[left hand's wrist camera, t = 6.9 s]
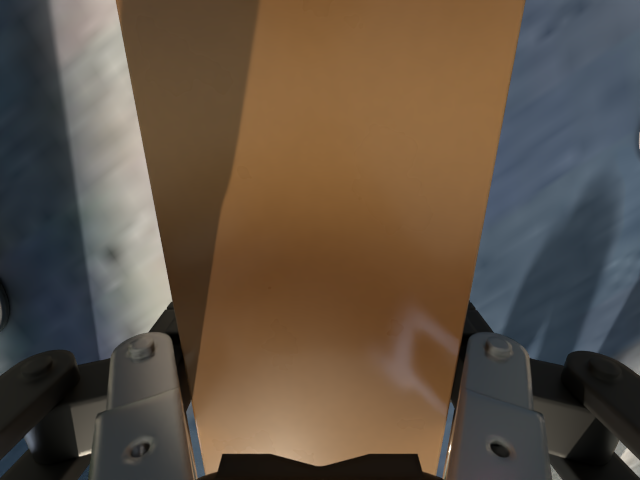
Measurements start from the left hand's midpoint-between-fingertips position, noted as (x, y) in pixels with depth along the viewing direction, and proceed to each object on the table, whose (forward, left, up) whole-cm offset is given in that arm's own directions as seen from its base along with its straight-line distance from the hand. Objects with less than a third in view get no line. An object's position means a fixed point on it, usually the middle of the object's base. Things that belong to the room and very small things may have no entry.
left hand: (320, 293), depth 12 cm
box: (-4, +6, -6) cm, 10 cm away
